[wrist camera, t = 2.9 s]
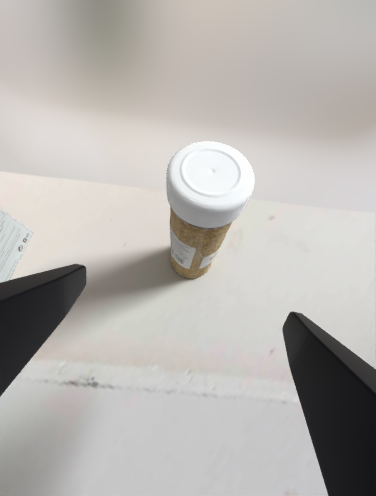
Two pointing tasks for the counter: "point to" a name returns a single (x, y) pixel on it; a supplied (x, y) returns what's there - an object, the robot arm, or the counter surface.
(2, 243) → the supplement box
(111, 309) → the counter surface
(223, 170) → the sprinkles bottle
